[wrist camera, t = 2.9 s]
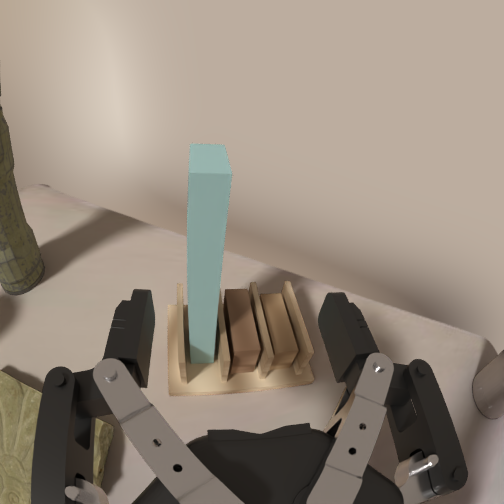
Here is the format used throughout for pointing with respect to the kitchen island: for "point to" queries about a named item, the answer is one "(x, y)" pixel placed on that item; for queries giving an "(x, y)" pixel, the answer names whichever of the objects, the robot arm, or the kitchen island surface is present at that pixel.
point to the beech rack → (218, 373)
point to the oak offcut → (279, 331)
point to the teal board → (205, 243)
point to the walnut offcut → (240, 331)
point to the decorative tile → (31, 440)
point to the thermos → (15, 228)
